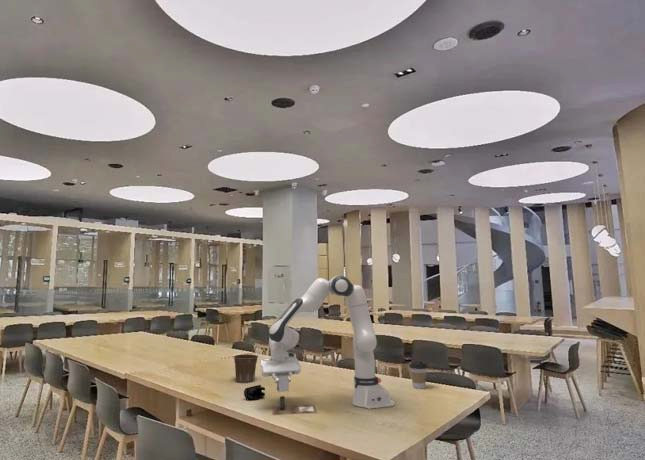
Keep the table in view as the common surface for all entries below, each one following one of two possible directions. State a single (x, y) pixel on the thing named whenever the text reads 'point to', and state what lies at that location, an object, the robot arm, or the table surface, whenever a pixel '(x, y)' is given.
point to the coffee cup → (418, 374)
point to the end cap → (254, 393)
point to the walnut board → (292, 408)
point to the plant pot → (245, 367)
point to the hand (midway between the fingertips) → (283, 381)
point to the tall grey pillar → (283, 383)
